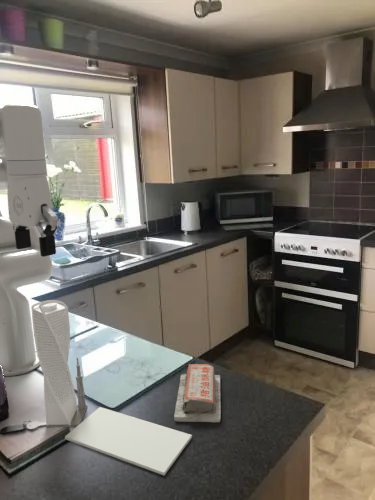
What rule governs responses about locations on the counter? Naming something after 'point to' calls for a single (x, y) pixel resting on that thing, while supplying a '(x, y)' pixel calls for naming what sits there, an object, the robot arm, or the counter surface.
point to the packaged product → (198, 395)
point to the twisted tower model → (57, 365)
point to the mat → (130, 439)
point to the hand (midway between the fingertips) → (35, 251)
